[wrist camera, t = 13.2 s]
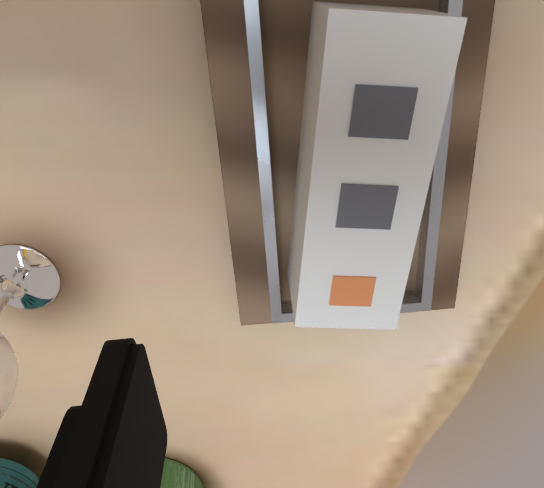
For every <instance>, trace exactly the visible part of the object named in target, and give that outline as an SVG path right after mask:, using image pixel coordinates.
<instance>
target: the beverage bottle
mask: <svg viewBox="0 0 544 488" xmlns="http://www.w3.org/2000/svg"><path fill="white" fill-rule="evenodd" d="M38 482H39V478H38V477H37V476H36V475H35V474H34V473H33V472H32V471H31V470H30V469H28V468H27V467H25V466H23V465H21V464H19V463H16V462H14V461H11V460H7V459H2V458H0V488H36V487H37V485H38Z"/></svg>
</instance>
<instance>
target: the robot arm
mask: <svg viewBox="0 0 544 488" xmlns="http://www.w3.org/2000/svg"><path fill="white" fill-rule="evenodd" d="M166 447H167V430H166V425H165V421H164V418H163V414H162V410H161V406H160V403H159V399H158V395H157V391H156V388H155V384H154V380H153V376H152V373H151V369H150V365H149V361H148V358H147V354H146V350H145V347H144V345H143V344H136V342H135V340H134V339H133V338H128V339H118V340H108V341H106V342H105V343H104V345H103V348H102V350H101V353H100V356H99V359H98V362H97V364H96V367H95V370H94V373H93V376H92V378H91V381H90V384H89V387H88V389H87V392H86V395H85V398H84V401H83V403H82V406H73V407H70V408H69V409H68V410H67V412H66V414H65V416H64V418H63V421H62V423H61V426H60V428H59V431H58V433H57V436H56V439H55V441H54V444H53V446H52V449H51V451H50V454H49V457H48V459H47V462H46V464H45V467H44V469H43V472H42V475H41V477H40V480H39V482H38V485H37V487H36V488H160V487H161V480H162V474H163V467H164V461H165V454H166Z"/></svg>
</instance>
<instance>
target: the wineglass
mask: <svg viewBox="0 0 544 488" xmlns="http://www.w3.org/2000/svg"><path fill="white" fill-rule="evenodd" d="M60 285H61V284H60V276H59V273H58V271H57V269H56V267H55V266H54V264H53V263H52V262H51V261H50V260H49V259H48V258H47V257H46V256H45V255H43V254H42V253H40V252H39V251H37V250H35V249H32V248H30V247H27V246H23V245H14V244H10V245H2V246H0V314H1V312H2V311H3V309H4V307H5V306H6V305H9V306H11V307H15V308H19V309H37V308H41V307H44V306H46V305H48V304H49V303H51V302H52V301H53V300H54V299H55V298H56V297H57V295H58V293H59V290H60ZM17 382H18V362H17V358H16V355H15V352H14V350H13V348H12V346H11V345H10V343H9V342H8V340H7V339H6V338H5V337H4V336H3V335H2V334H1V333H0V420H1V419H2V417H3V416H4V414H5V412H6V411H7V409H8V407H9V405H10V403H11V401H12V398H13V396H14V393H15V389H16V385H17Z"/></svg>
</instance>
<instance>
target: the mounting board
mask: <svg viewBox="0 0 544 488" xmlns="http://www.w3.org/2000/svg"><path fill="white" fill-rule="evenodd" d="M313 1H322V2H336V3H350V4H365V5H379V6H393V7H407V8H422V9H428V10H433V11H438V12H443V13H447V14H452V15H457V16H462V17H467V23H466V27H465V31H464V36H463V40H462V44H461V49H460V53H459V58H458V62H457V66H456V71H455V75H454V79H453V84H452V88H451V92H450V97H449V101H448V105H447V110H446V114H445V118H444V123H443V127H442V131H441V136H440V140H439V145H438V149H437V153H436V158H435V162H434V166H433V171H432V175H431V179H430V184H429V188H428V192H427V197H426V201H425V205H424V210H423V214H422V218H421V223H420V227H419V231H418V236H417V240H416V245H415V249H414V253H413V258H412V262H411V266H410V271H409V275H408V279H407V284H406V288H405V292H404V297H403V301H402V305H401V310H400V313H405V312H417V311H430V310H437V309H449V308H455V301H456V293H457V286H458V278H459V270H460V263H461V255H462V248H463V240H464V232H465V225H466V217H467V210H468V202H469V194H470V187H471V179H472V172H473V164H474V156H475V149H476V141H477V133H478V126H479V118H480V111H481V103H482V95H483V88H484V80H485V73H486V65H487V57H488V50H489V42H490V34H491V27H492V19H493V12H494V4H495V0H200V3H201V11H202V19H203V27H204V35H205V43H206V51H207V59H208V67H209V75H210V83H211V91H212V99H213V107H214V115H215V123H216V130H217V138H218V146H219V154H220V162H221V170H222V178H223V186H224V194H225V202H226V210H227V218H228V226H229V234H230V242H231V250H232V258H233V266H234V274H235V282H236V290H237V298H238V306H239V314H240V322H241V325H253V324H265V323H282V322H294V318H293V310H292V302H291V295H290V287H289V279H288V263H289V252H290V242H291V231H292V220H293V209H294V199H295V188H296V177H297V167H298V156H299V145H300V134H301V124H302V113H303V102H304V91H305V81H306V70H307V59H308V48H309V38H310V27H311V16H312V6H313Z"/></svg>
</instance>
